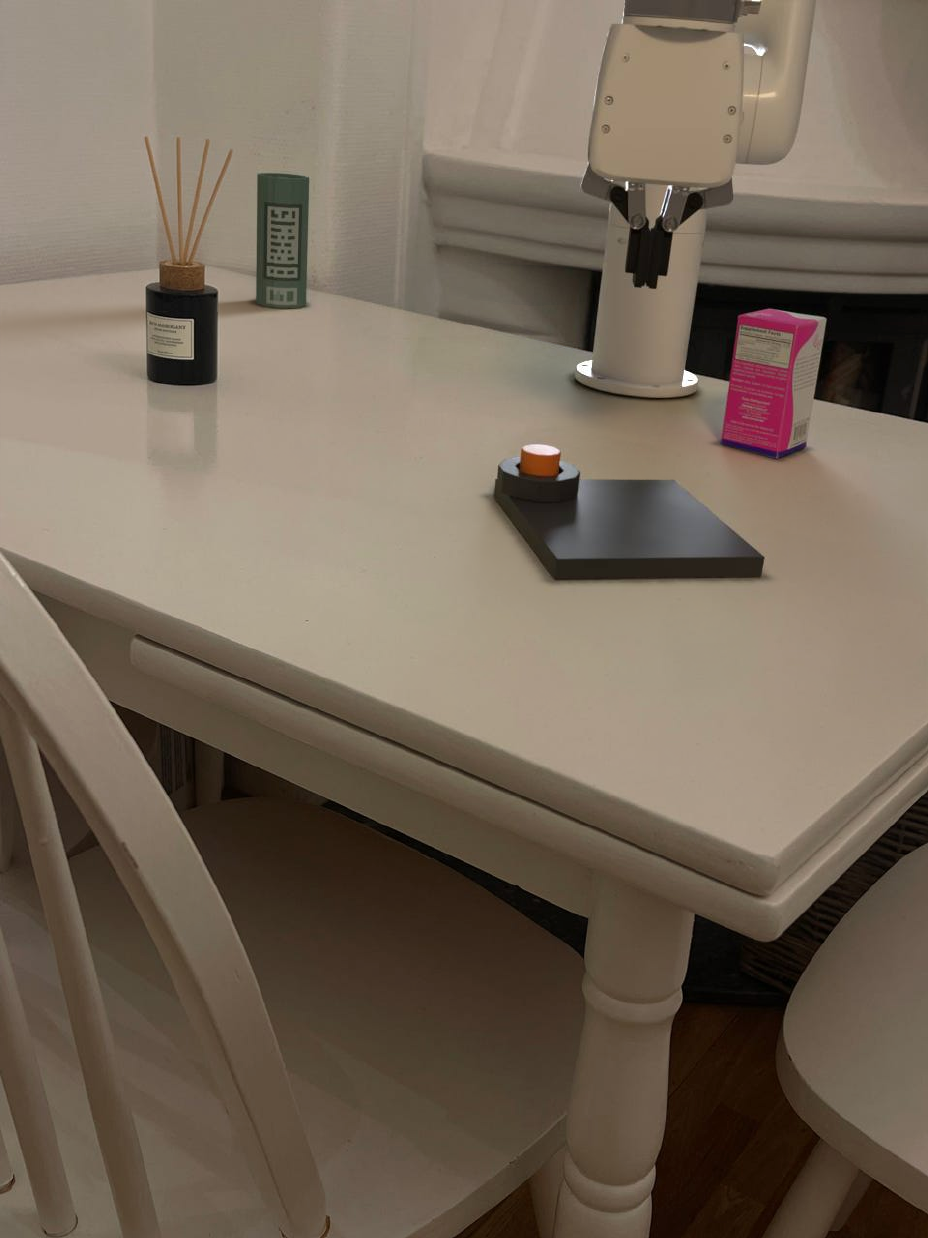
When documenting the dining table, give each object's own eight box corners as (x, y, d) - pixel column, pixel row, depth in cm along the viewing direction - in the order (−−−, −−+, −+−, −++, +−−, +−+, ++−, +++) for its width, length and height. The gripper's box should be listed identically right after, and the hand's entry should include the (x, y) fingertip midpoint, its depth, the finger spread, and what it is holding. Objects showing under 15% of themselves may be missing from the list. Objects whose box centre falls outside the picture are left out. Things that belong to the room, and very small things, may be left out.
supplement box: (747, 433, 115) (769, 306, 110) (807, 448, 112) (832, 318, 107) (716, 443, 111) (737, 312, 106) (777, 459, 108) (802, 324, 103)
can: (304, 300, 159) (307, 175, 153) (306, 309, 154) (310, 179, 148) (256, 297, 158) (257, 171, 152) (256, 306, 153) (257, 176, 147)
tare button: (514, 467, 91) (517, 443, 90) (552, 467, 91) (554, 443, 91) (525, 479, 88) (527, 455, 88) (563, 479, 89) (565, 455, 88)
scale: (487, 495, 93) (491, 455, 92) (669, 495, 96) (675, 457, 95) (549, 580, 78) (554, 534, 77) (761, 577, 82) (769, 533, 80)
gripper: (783, 15, 87) (740, 284, 95) (568, -2, 88) (542, 267, 95) (803, 13, 80) (754, 303, 88) (569, -6, 81) (541, 285, 89)
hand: (644, 284), depth 92 cm, fingers closed
